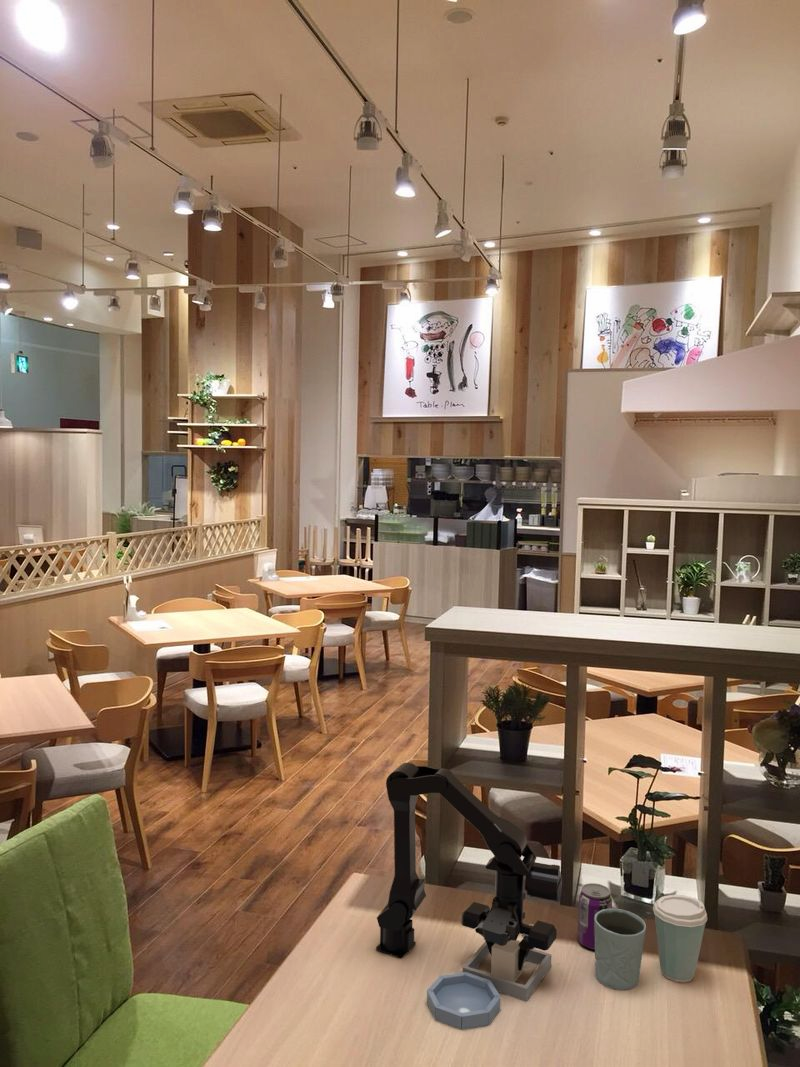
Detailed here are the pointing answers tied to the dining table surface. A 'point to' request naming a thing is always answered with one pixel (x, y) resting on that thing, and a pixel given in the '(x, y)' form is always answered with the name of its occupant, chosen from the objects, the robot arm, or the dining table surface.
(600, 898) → the beverage can
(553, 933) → the robot arm
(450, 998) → the ceramic bowl
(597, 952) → the embossed ceramic cup
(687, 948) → the disposable coffee cup
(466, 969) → the open square frame
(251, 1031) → the dining table surface
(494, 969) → the stone block
